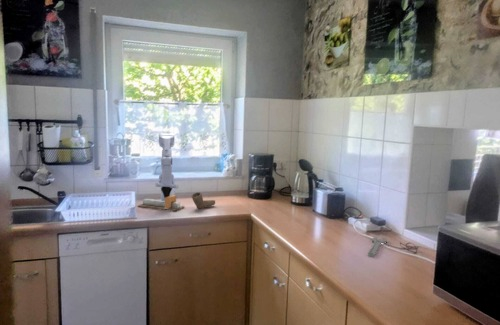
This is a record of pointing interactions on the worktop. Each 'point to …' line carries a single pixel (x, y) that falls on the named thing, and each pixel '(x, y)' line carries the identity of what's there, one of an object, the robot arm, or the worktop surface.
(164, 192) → the robot arm
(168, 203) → the collar
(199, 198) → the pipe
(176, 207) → the stand
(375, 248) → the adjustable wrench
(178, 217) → the worktop surface
